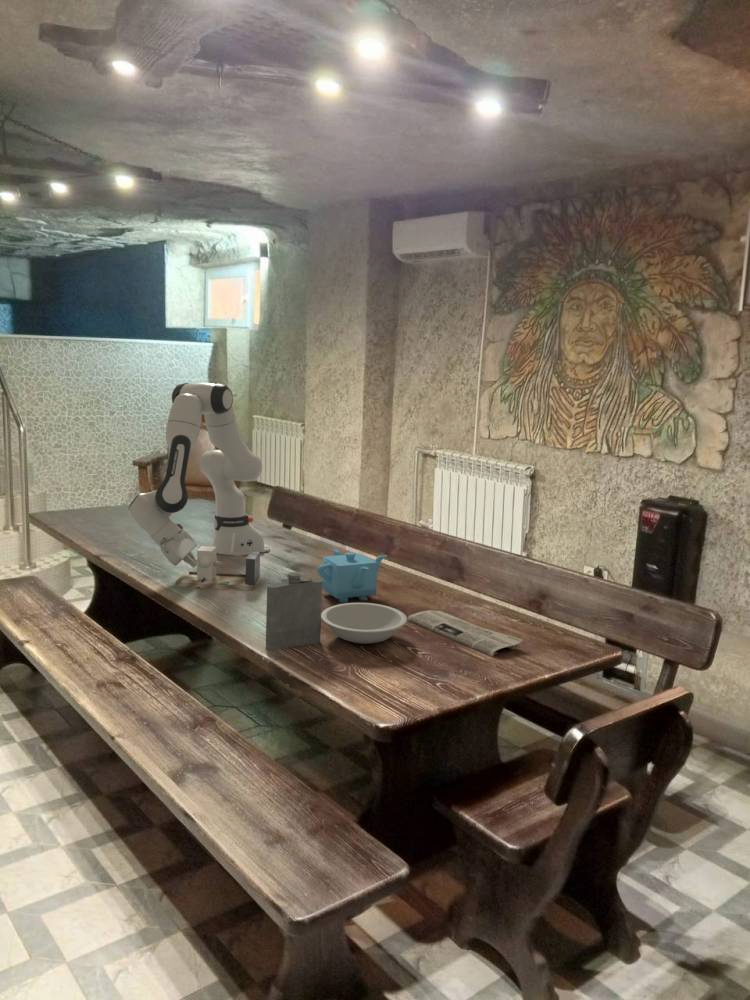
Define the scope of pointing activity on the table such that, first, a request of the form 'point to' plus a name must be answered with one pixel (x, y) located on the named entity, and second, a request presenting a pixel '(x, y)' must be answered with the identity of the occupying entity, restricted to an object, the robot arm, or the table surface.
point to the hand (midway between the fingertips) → (196, 565)
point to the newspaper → (464, 631)
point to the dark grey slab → (252, 568)
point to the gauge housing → (206, 563)
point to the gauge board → (216, 581)
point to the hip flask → (293, 612)
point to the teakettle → (349, 575)
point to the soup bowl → (363, 621)
